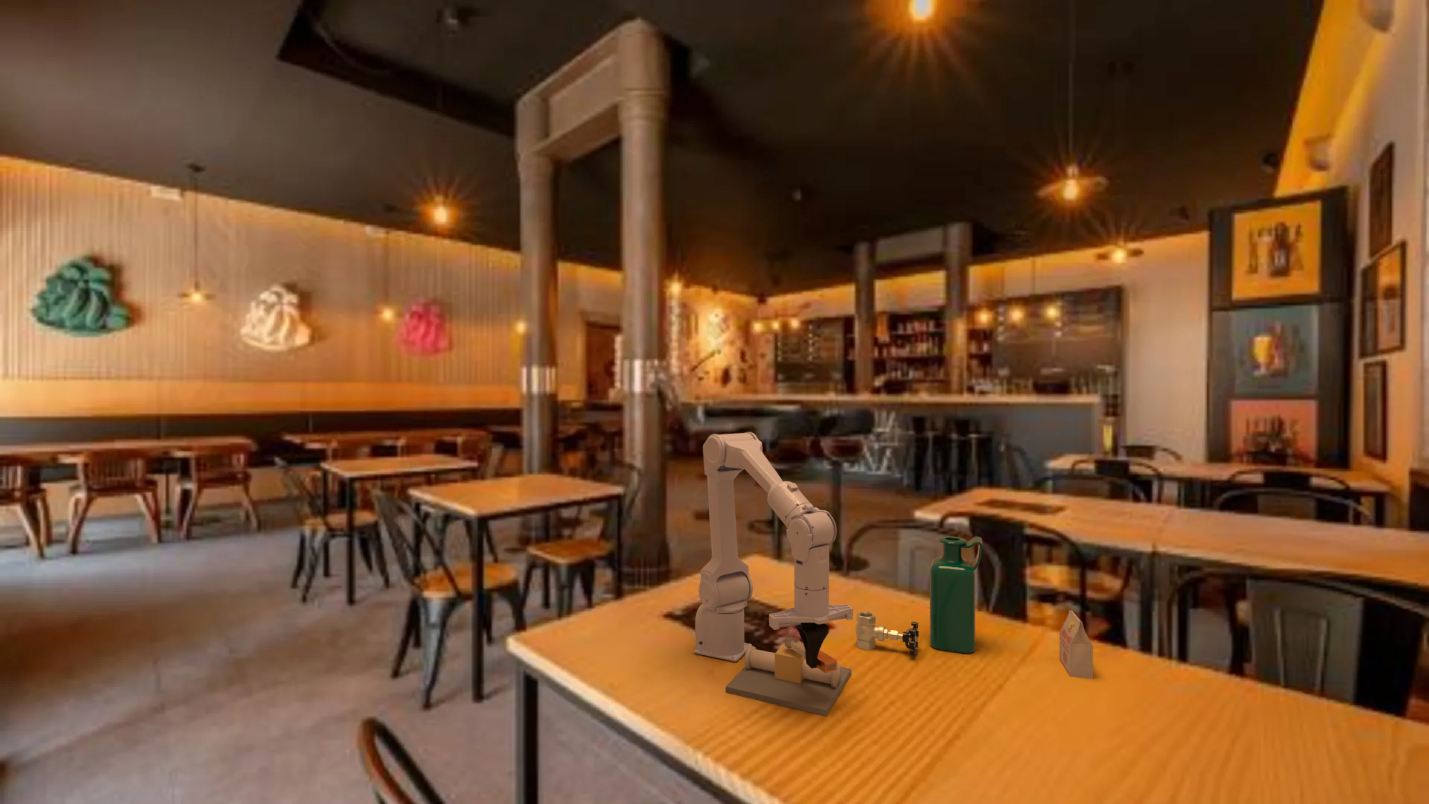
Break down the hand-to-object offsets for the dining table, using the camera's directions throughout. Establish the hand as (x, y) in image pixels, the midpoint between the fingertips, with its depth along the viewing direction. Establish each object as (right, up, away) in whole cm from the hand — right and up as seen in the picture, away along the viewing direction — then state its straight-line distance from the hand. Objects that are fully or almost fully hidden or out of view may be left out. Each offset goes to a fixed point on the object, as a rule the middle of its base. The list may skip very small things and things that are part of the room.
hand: (811, 665), depth 102 cm
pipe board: (-2, -6, +8) cm, 10 cm away
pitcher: (+33, -6, +23) cm, 41 cm away
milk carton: (+51, -6, +12) cm, 53 cm away
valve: (+18, -6, +21) cm, 28 cm away
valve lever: (0, -1, +4) cm, 4 cm away
